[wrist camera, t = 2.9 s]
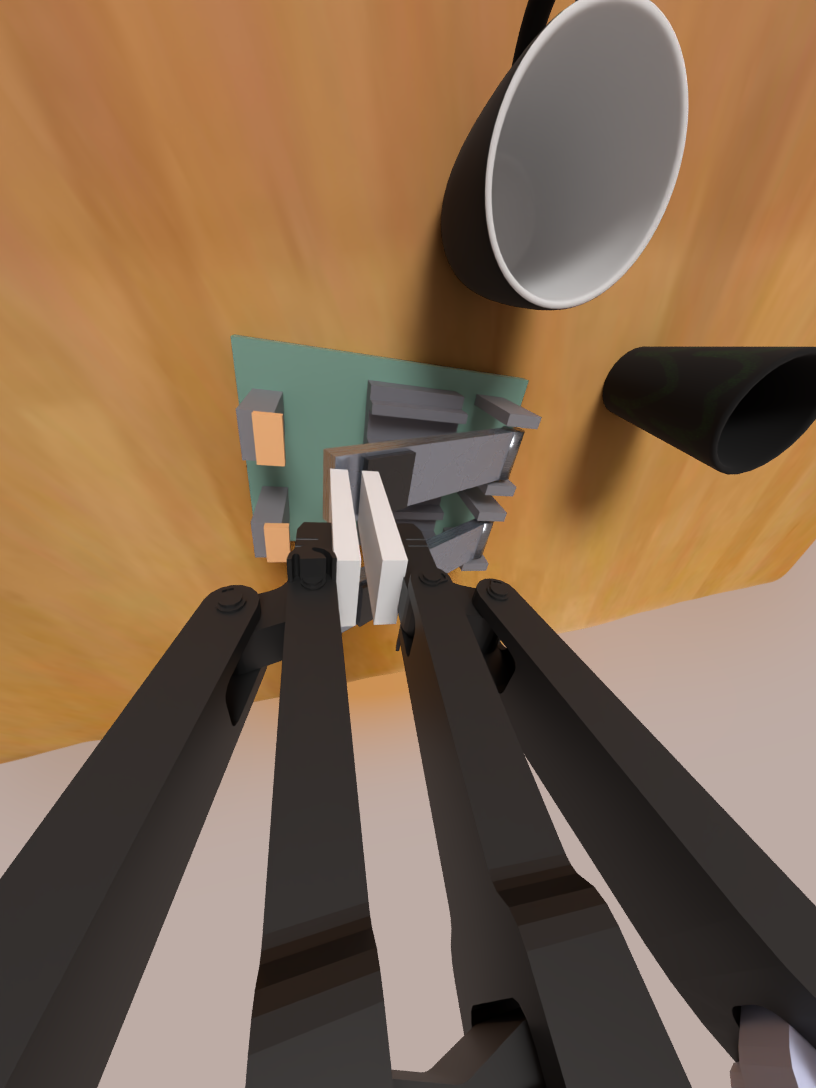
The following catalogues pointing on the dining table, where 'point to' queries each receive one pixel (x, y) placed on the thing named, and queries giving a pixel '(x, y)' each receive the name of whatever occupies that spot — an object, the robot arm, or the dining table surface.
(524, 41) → the mug
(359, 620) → the strap far
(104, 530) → the dining table surface
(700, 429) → the cup
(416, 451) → the strap near
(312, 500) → the socket board
